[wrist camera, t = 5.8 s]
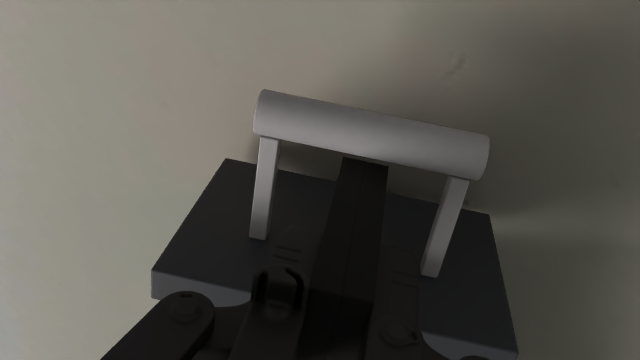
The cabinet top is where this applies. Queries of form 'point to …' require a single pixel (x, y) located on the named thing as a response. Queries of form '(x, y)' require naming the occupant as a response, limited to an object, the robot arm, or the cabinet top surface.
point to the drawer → (313, 207)
